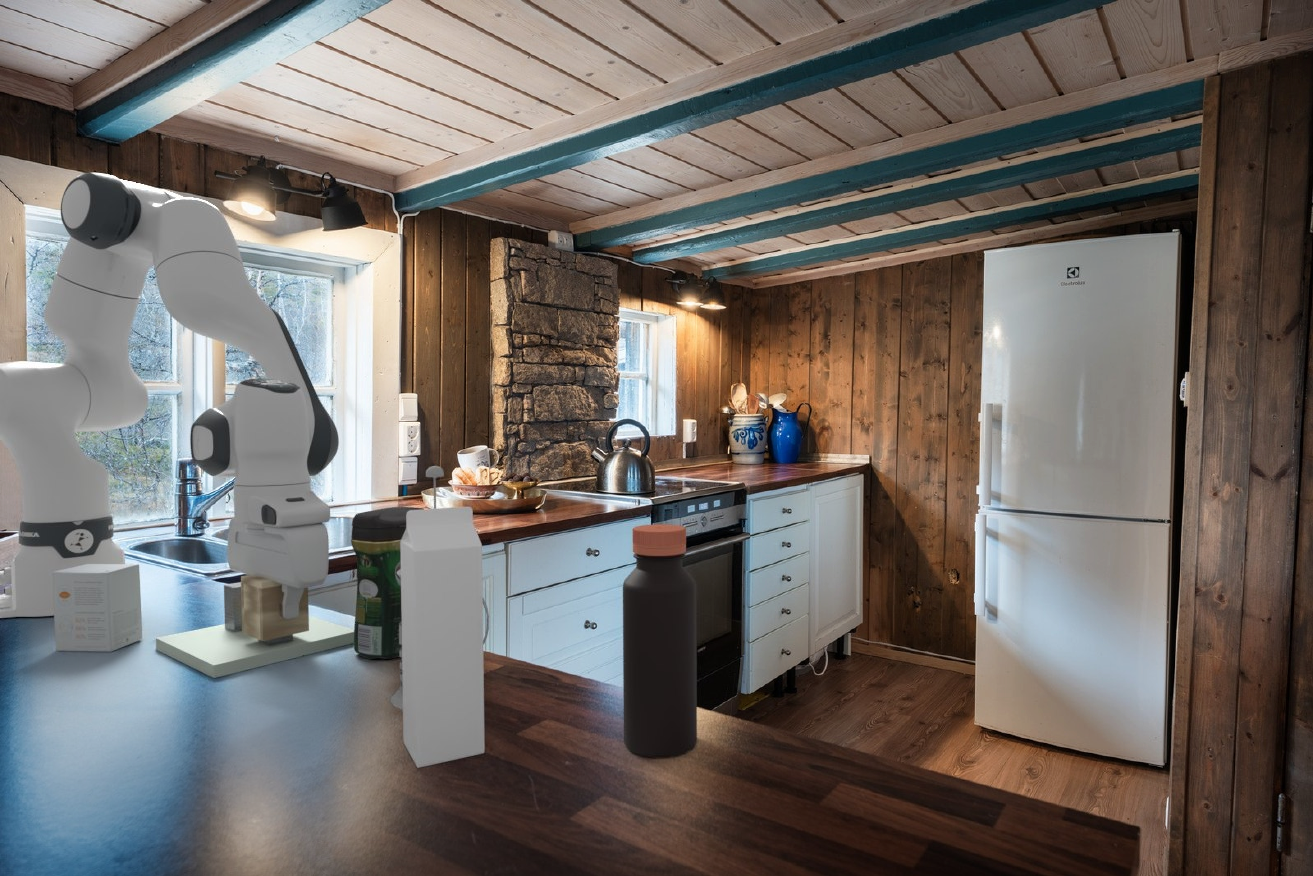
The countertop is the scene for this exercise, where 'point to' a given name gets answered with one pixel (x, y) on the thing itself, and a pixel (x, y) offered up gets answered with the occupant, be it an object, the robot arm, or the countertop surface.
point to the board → (248, 647)
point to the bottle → (659, 646)
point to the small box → (97, 607)
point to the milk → (442, 636)
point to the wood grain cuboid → (269, 610)
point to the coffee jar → (378, 581)
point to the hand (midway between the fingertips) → (275, 613)
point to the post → (233, 607)
